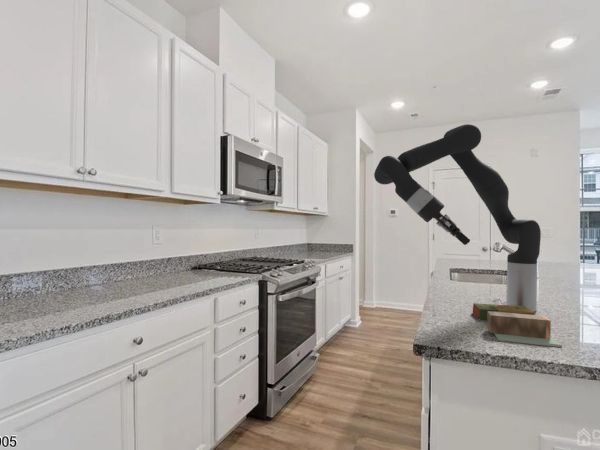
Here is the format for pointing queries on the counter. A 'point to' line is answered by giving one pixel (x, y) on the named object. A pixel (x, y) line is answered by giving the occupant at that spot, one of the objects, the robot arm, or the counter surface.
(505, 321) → the copper block
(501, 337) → the mat
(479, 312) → the carton
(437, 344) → the counter surface
